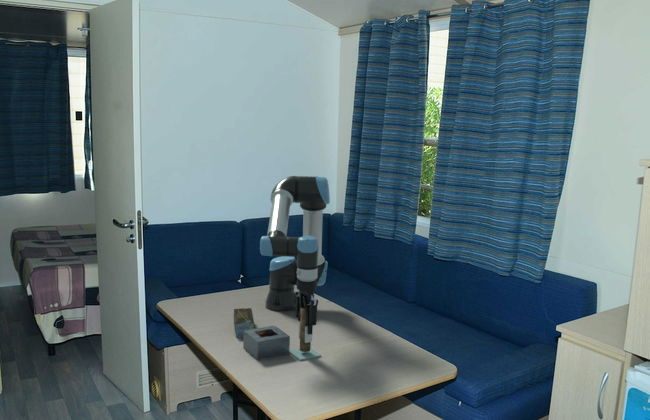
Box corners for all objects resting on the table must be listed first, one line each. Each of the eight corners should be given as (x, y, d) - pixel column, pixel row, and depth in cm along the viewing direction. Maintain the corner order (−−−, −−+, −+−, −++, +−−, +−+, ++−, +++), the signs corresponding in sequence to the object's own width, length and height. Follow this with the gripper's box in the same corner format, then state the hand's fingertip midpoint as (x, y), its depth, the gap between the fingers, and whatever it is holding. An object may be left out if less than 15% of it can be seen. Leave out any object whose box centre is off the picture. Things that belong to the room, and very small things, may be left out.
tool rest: (309, 348, 230) (309, 347, 229) (321, 356, 222) (321, 355, 222) (288, 352, 225) (288, 350, 225) (300, 361, 217) (300, 359, 217)
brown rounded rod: (307, 347, 226) (308, 306, 224) (312, 350, 223) (313, 309, 220) (297, 348, 224) (298, 307, 222) (302, 352, 220) (303, 310, 218)
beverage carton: (234, 337, 239) (234, 322, 238) (233, 322, 258) (233, 307, 257) (254, 337, 240) (254, 321, 239) (251, 321, 259) (252, 306, 258)
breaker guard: (274, 342, 234) (274, 325, 233) (289, 354, 223) (289, 336, 222) (243, 348, 228) (243, 330, 227) (257, 360, 217) (257, 341, 216)
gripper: (287, 274, 225) (285, 334, 228) (309, 285, 210) (307, 349, 213) (304, 272, 228) (303, 331, 232) (327, 283, 214) (325, 345, 217)
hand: (305, 339), depth 223 cm, fingers closed on brown rounded rod, 4 cm apart
